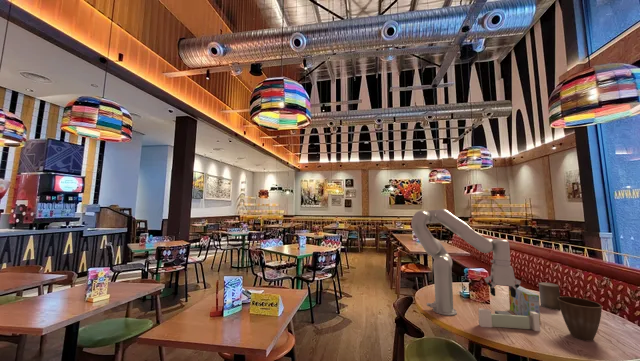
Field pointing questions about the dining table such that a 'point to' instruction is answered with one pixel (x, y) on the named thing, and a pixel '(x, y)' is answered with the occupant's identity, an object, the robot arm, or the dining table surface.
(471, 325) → the dining table surface
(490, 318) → the pair of cream posts
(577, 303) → the plant pot
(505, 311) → the block
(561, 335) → the dining table surface
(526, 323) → the door
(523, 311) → the snack box
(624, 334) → the dining table surface
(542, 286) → the pillar candle
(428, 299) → the dining table surface
